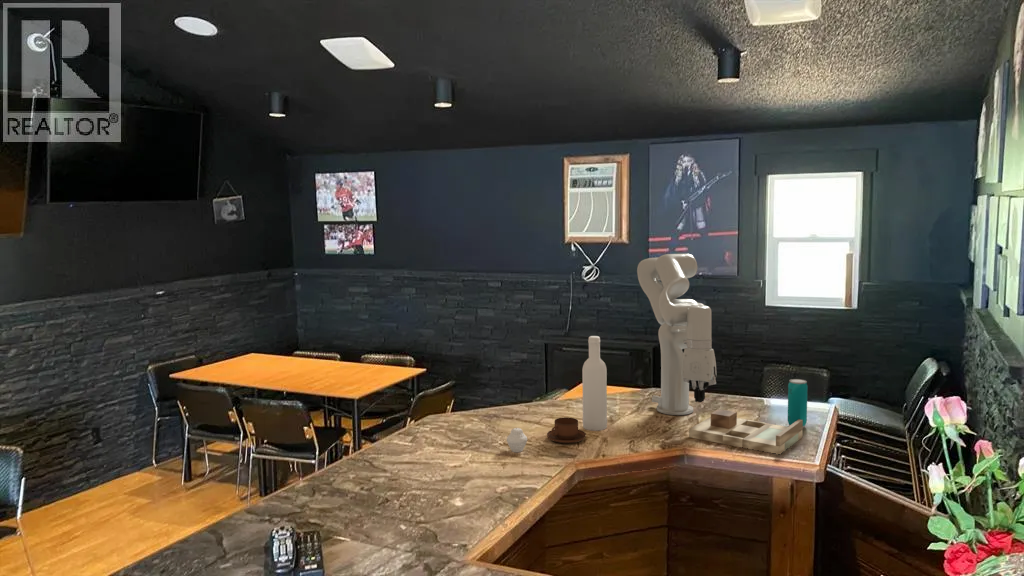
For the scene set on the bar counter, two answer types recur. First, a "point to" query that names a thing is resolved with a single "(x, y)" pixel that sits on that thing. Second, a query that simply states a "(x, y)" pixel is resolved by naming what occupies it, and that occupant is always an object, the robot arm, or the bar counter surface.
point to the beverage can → (797, 401)
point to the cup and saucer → (566, 431)
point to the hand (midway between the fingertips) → (699, 401)
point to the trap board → (750, 434)
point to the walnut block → (723, 419)
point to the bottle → (594, 388)
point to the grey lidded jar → (516, 440)
